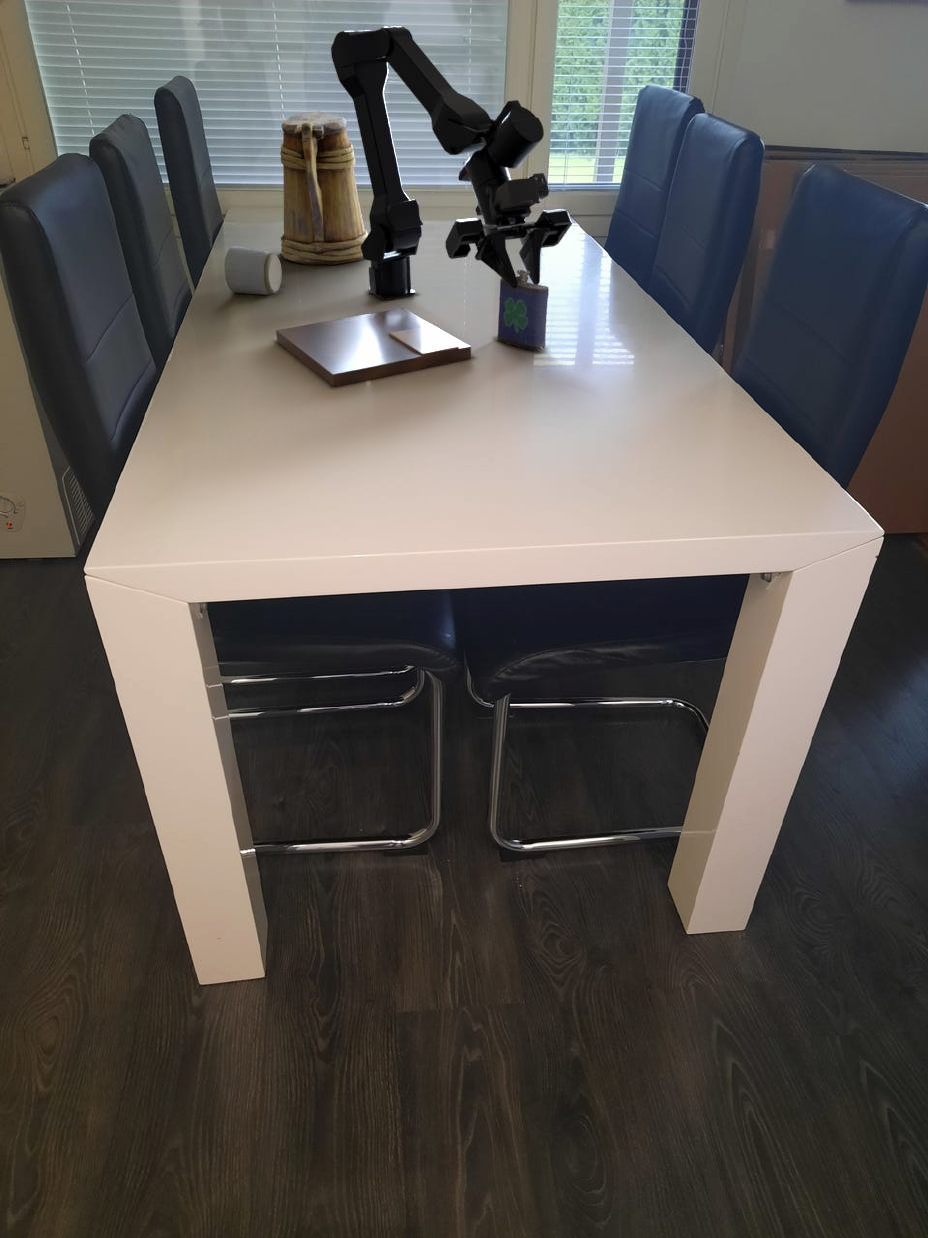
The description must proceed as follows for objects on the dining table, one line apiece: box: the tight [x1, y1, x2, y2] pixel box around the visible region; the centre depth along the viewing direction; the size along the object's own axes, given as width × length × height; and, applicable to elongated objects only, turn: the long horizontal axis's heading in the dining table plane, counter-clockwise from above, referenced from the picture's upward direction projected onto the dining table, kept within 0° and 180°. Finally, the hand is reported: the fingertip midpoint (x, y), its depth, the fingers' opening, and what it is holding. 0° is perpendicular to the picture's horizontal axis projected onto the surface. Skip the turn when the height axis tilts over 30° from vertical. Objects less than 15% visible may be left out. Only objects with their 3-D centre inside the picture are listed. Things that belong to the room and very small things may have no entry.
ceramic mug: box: [224, 245, 283, 296], centre depth 153 cm, size 11×8×8 cm
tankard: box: [280, 110, 369, 266], centre depth 167 cm, size 18×24×25 cm
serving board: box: [275, 307, 472, 388], centre depth 129 cm, size 22×22×2 cm
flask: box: [497, 269, 550, 351], centre depth 128 cm, size 9×3×11 cm, turn 43°
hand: (526, 285), depth 126 cm, fingers closed on flask, 3 cm apart
